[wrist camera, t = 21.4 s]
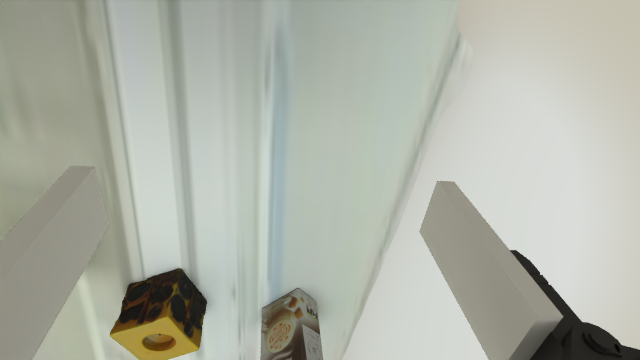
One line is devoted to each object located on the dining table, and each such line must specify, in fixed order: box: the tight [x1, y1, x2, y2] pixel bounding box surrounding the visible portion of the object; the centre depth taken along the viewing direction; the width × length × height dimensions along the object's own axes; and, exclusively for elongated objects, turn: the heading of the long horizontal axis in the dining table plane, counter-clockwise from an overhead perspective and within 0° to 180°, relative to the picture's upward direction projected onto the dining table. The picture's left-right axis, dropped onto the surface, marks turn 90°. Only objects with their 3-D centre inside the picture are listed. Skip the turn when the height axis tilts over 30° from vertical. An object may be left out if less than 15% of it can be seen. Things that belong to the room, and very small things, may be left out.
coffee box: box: [261, 289, 323, 360], centre depth 63 cm, size 9×6×16 cm
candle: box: [110, 269, 207, 360], centre depth 60 cm, size 10×10×10 cm
